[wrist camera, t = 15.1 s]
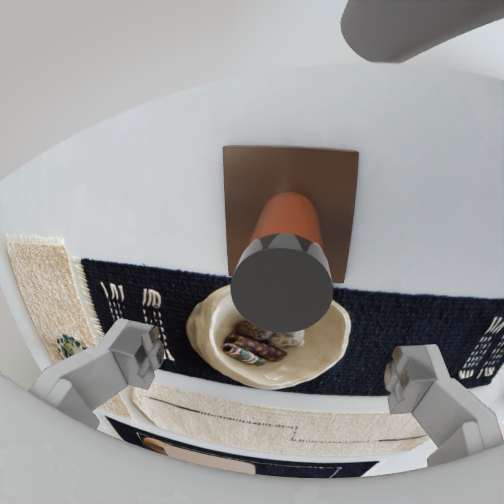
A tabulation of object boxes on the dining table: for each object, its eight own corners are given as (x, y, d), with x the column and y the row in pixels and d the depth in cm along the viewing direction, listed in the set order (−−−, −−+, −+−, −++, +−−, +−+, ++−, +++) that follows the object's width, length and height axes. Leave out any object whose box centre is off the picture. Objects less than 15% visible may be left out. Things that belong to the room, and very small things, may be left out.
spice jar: (259, 189, 21) (227, 244, 12) (322, 192, 20) (339, 250, 11) (259, 246, 23) (232, 328, 14) (317, 250, 22) (325, 335, 13)
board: (225, 145, 21) (222, 146, 20) (356, 150, 19) (359, 151, 18) (231, 270, 25) (228, 276, 25) (342, 277, 24) (343, 283, 23)
